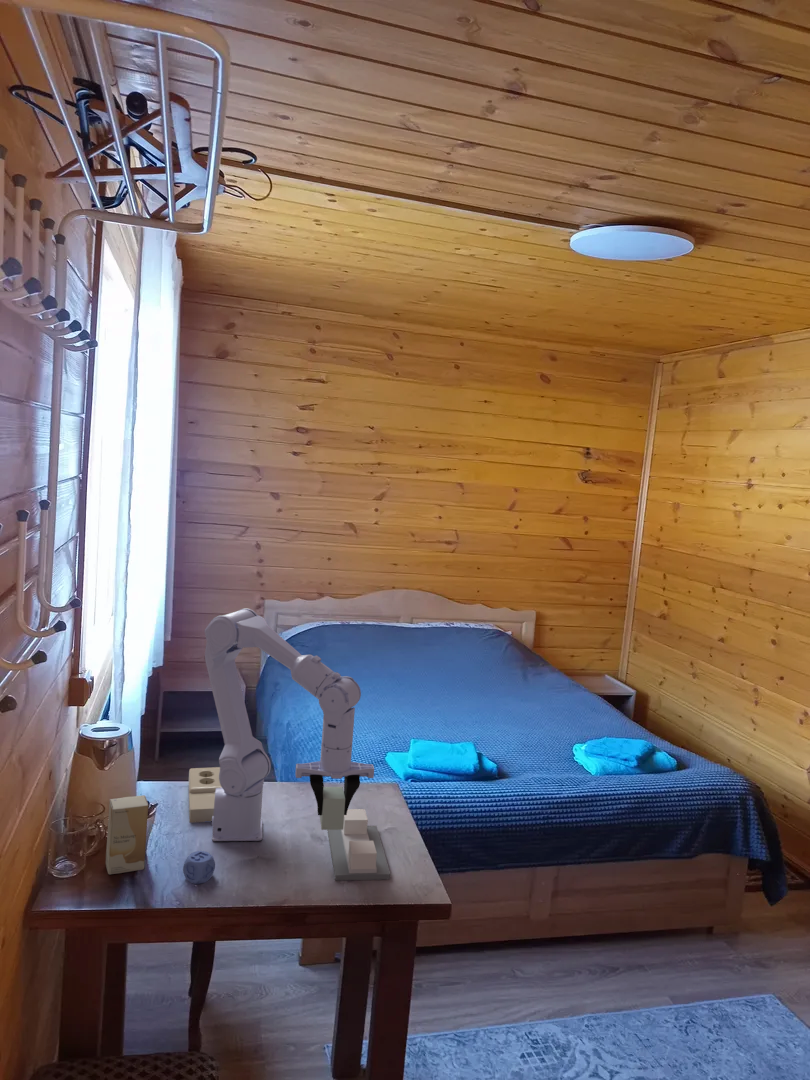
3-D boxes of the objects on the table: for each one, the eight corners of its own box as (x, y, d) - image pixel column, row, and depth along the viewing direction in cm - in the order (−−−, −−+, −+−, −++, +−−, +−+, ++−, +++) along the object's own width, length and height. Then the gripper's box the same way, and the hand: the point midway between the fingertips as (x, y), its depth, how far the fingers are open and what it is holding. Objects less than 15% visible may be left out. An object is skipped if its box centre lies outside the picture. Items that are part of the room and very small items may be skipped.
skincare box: (108, 876, 137) (110, 809, 135) (105, 863, 140) (107, 798, 139) (146, 869, 140) (149, 804, 138) (142, 857, 143) (145, 793, 142)
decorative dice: (214, 875, 140) (216, 854, 139) (200, 886, 136) (201, 865, 135) (196, 869, 141) (197, 848, 141) (182, 879, 137) (183, 858, 137)
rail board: (335, 880, 141) (337, 855, 140) (327, 830, 159) (329, 808, 158) (389, 879, 143) (392, 854, 142) (376, 830, 160) (377, 807, 160)
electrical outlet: (190, 805, 157) (189, 767, 174) (189, 824, 157) (188, 785, 174) (226, 803, 159) (222, 766, 176) (225, 822, 159) (221, 783, 176)
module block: (321, 829, 145) (323, 799, 144) (319, 816, 150) (321, 786, 149) (342, 829, 146) (345, 798, 145) (340, 816, 150) (342, 786, 150)
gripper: (298, 751, 141) (293, 823, 142) (378, 752, 143) (372, 822, 145) (297, 736, 147) (292, 805, 149) (373, 737, 150) (368, 804, 152)
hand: (331, 812), depth 147 cm, fingers closed on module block, 4 cm apart
